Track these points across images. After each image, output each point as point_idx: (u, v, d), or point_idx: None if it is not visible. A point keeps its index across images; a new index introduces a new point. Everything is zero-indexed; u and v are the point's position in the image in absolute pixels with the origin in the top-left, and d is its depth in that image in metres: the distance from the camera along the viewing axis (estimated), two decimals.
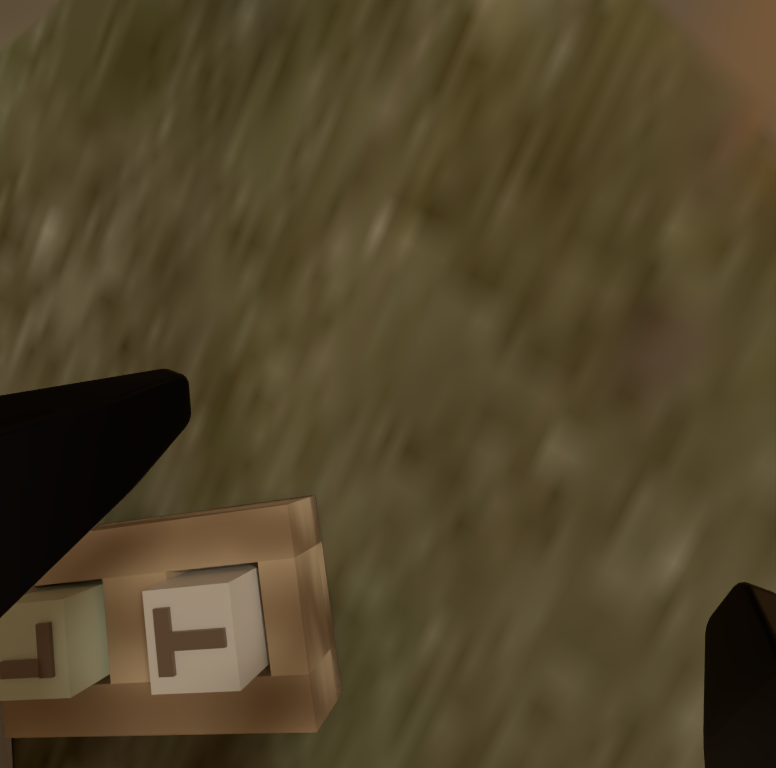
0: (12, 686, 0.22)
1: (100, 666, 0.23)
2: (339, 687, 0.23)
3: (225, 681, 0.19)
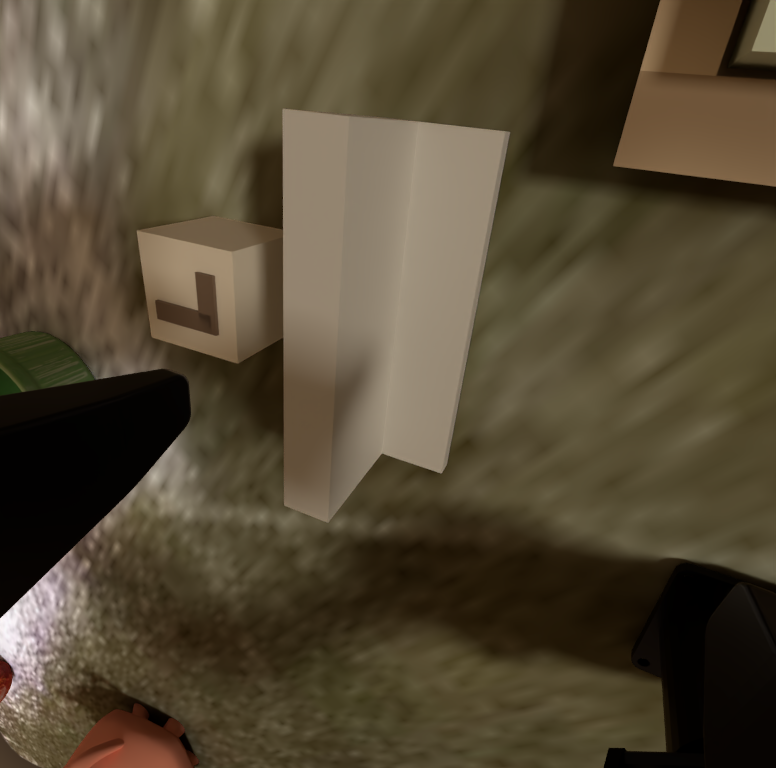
0: None
1: None
2: None
3: None
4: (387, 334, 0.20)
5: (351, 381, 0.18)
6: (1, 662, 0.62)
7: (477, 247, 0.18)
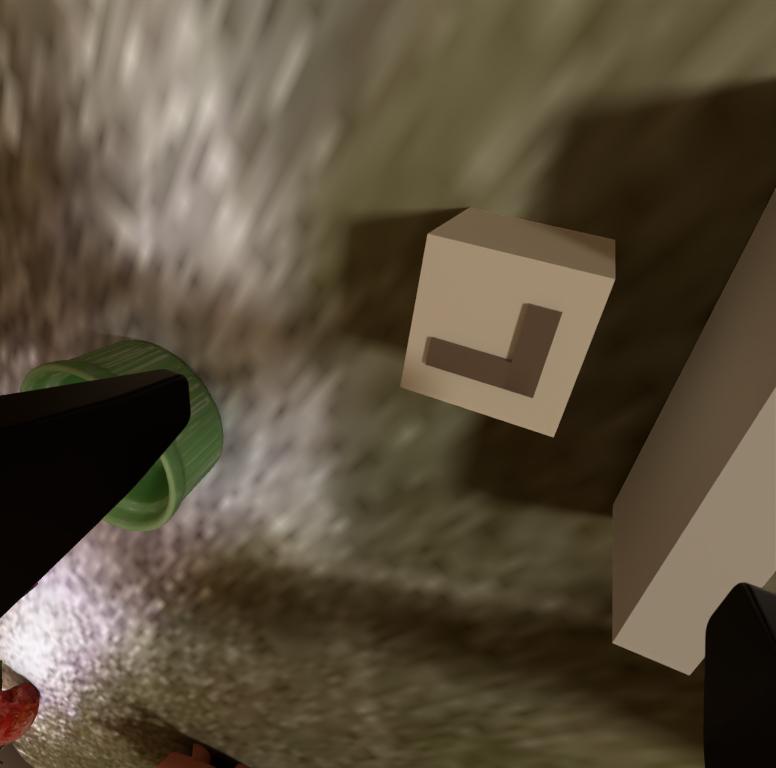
0: None
1: None
2: None
3: None
4: None
5: None
6: (27, 685, 0.56)
7: None
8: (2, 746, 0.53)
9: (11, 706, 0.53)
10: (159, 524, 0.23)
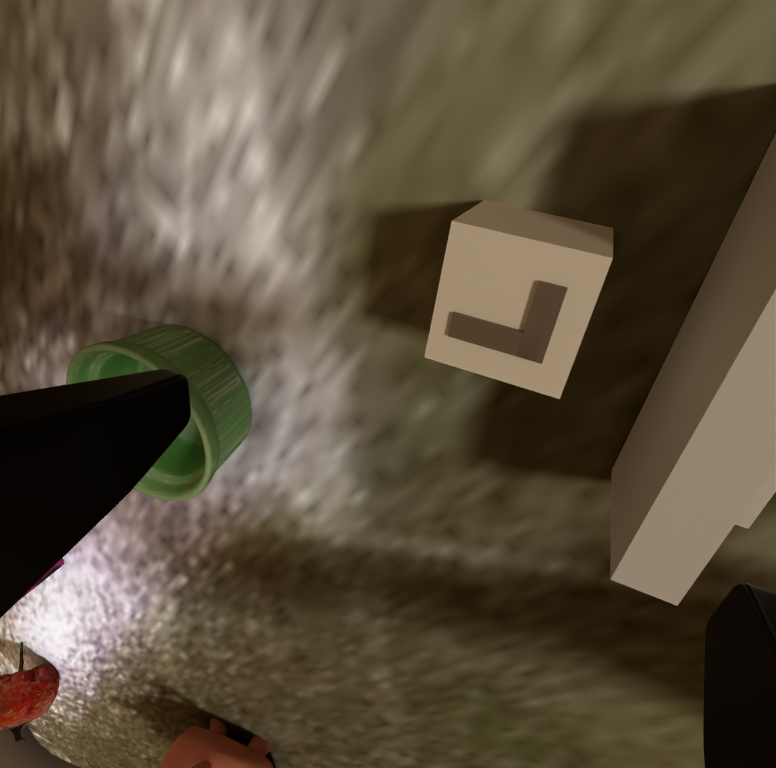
0: None
1: None
2: None
3: None
4: None
5: None
6: (47, 666, 0.58)
7: None
8: (24, 723, 0.55)
9: (33, 685, 0.55)
10: (194, 493, 0.25)
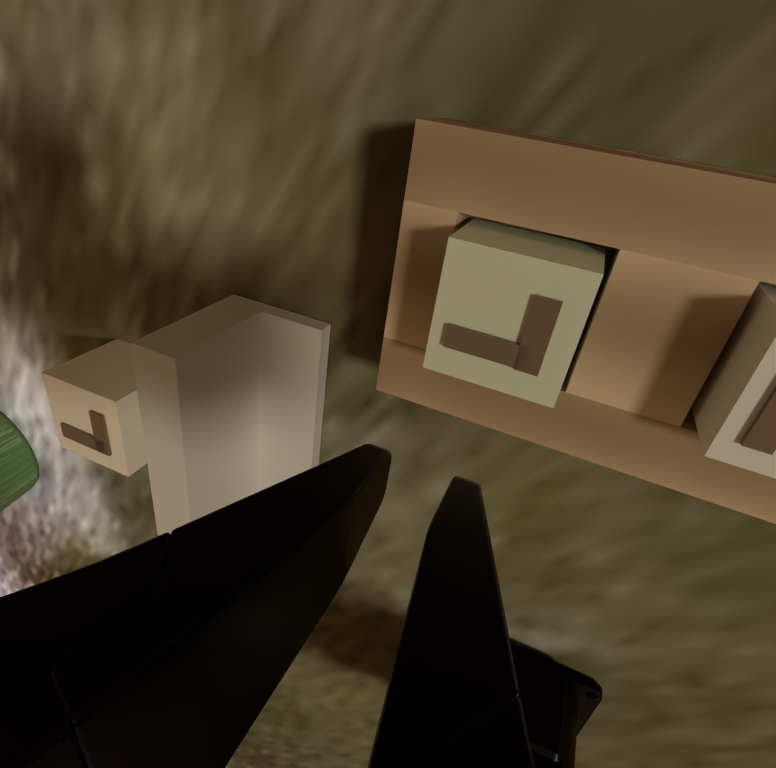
0: (456, 360, 0.15)
1: None
2: None
3: None
4: (250, 456, 0.25)
5: (209, 506, 0.23)
6: None
7: (311, 402, 0.23)
8: None
9: None
10: None
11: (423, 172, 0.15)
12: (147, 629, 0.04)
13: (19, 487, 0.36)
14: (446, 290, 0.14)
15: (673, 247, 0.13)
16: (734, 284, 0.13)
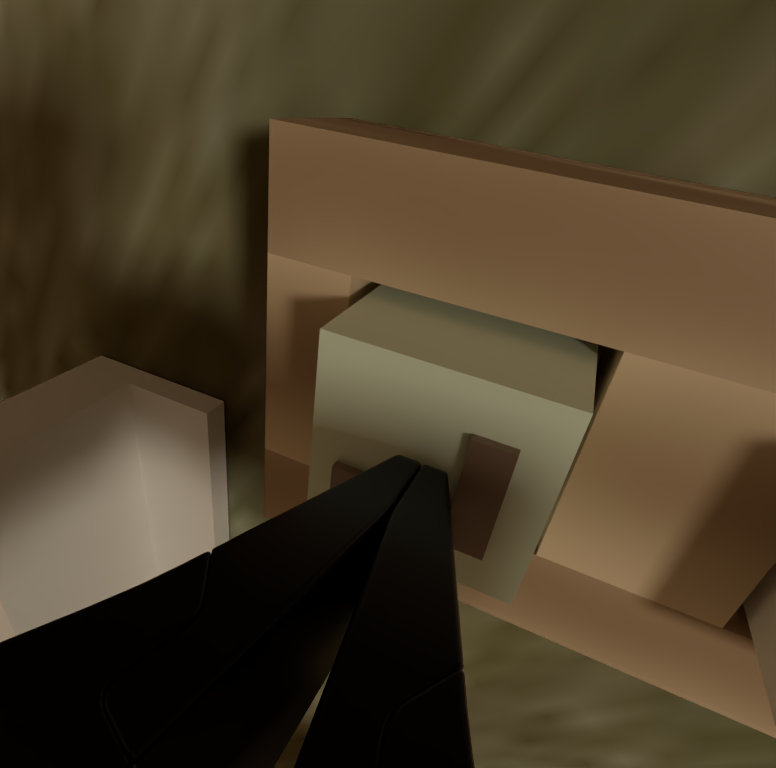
0: None
1: None
2: None
3: None
4: (136, 561, 0.19)
5: None
6: None
7: (206, 501, 0.17)
8: None
9: None
10: None
11: (291, 209, 0.09)
12: (198, 656, 0.04)
13: None
14: (327, 412, 0.08)
15: (722, 355, 0.07)
16: None
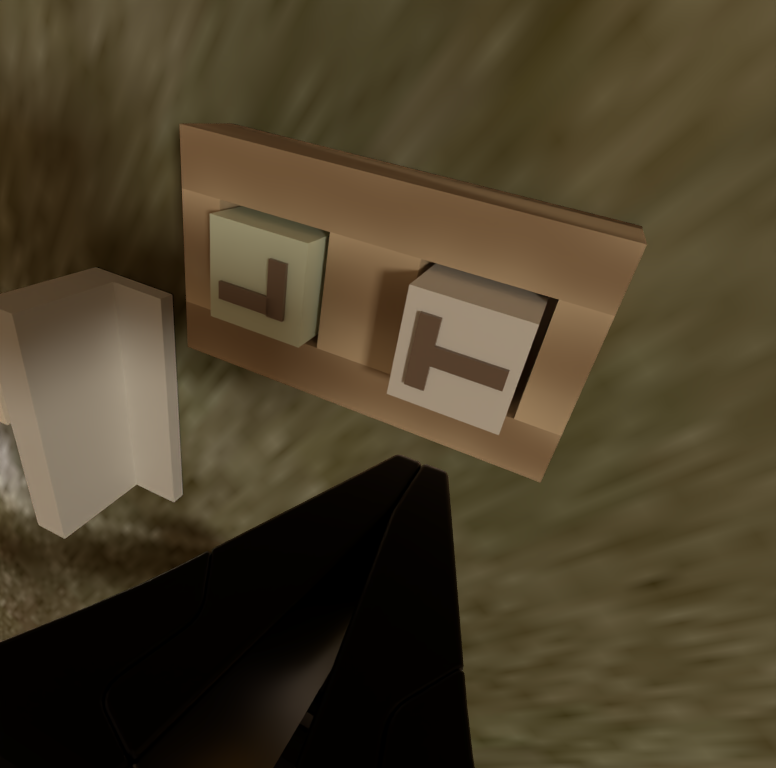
0: (230, 309, 0.19)
1: None
2: None
3: (483, 419, 0.16)
4: (115, 410, 0.29)
5: (68, 449, 0.26)
6: None
7: (161, 363, 0.27)
8: None
9: None
10: None
11: (191, 166, 0.18)
12: (198, 657, 0.04)
13: None
14: (215, 254, 0.18)
15: (362, 231, 0.17)
16: (406, 261, 0.17)
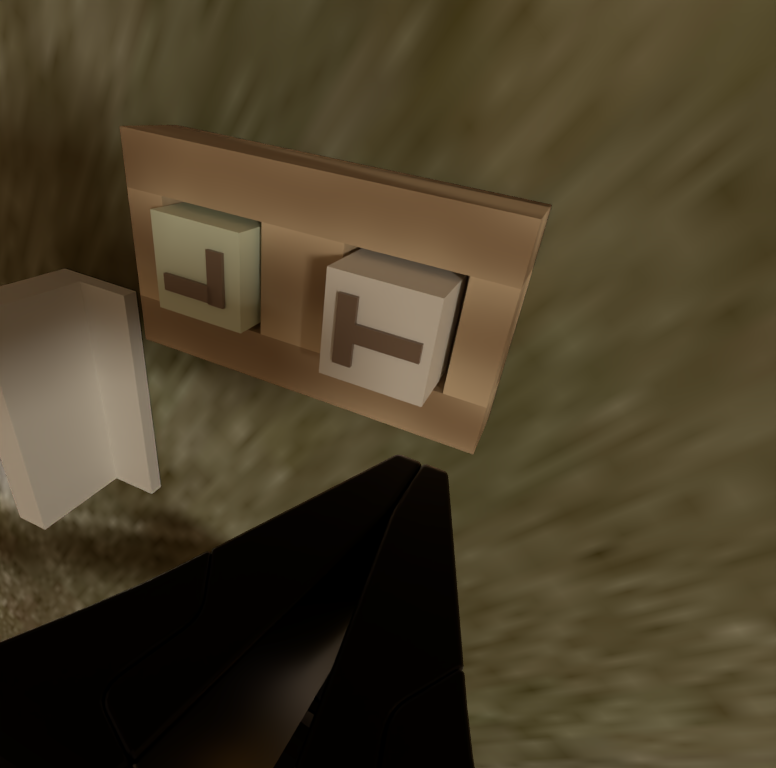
0: (177, 300, 0.20)
1: None
2: (489, 411, 0.22)
3: (406, 392, 0.17)
4: (90, 405, 0.30)
5: (43, 443, 0.28)
6: None
7: (129, 358, 0.28)
8: None
9: None
10: None
11: (133, 166, 0.19)
12: (198, 656, 0.04)
13: None
14: (159, 248, 0.20)
15: (290, 219, 0.18)
16: (331, 246, 0.18)
